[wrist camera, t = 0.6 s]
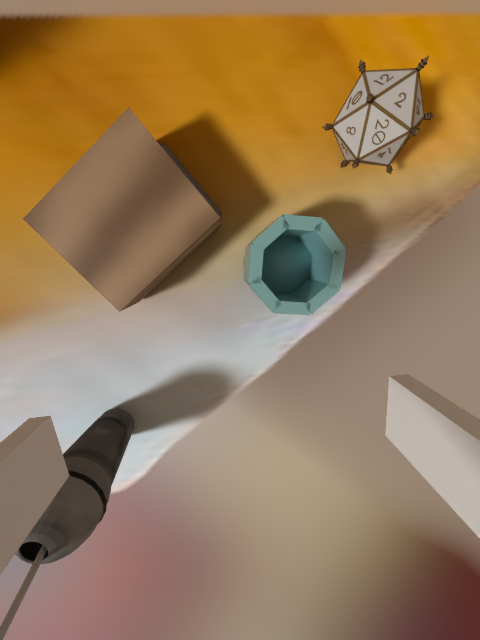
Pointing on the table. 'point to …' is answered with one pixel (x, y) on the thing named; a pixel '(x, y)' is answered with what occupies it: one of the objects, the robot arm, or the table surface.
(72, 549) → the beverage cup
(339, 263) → the bowl
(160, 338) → the table surface
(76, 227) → the brown wooden block
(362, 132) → the game die
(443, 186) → the table surface
